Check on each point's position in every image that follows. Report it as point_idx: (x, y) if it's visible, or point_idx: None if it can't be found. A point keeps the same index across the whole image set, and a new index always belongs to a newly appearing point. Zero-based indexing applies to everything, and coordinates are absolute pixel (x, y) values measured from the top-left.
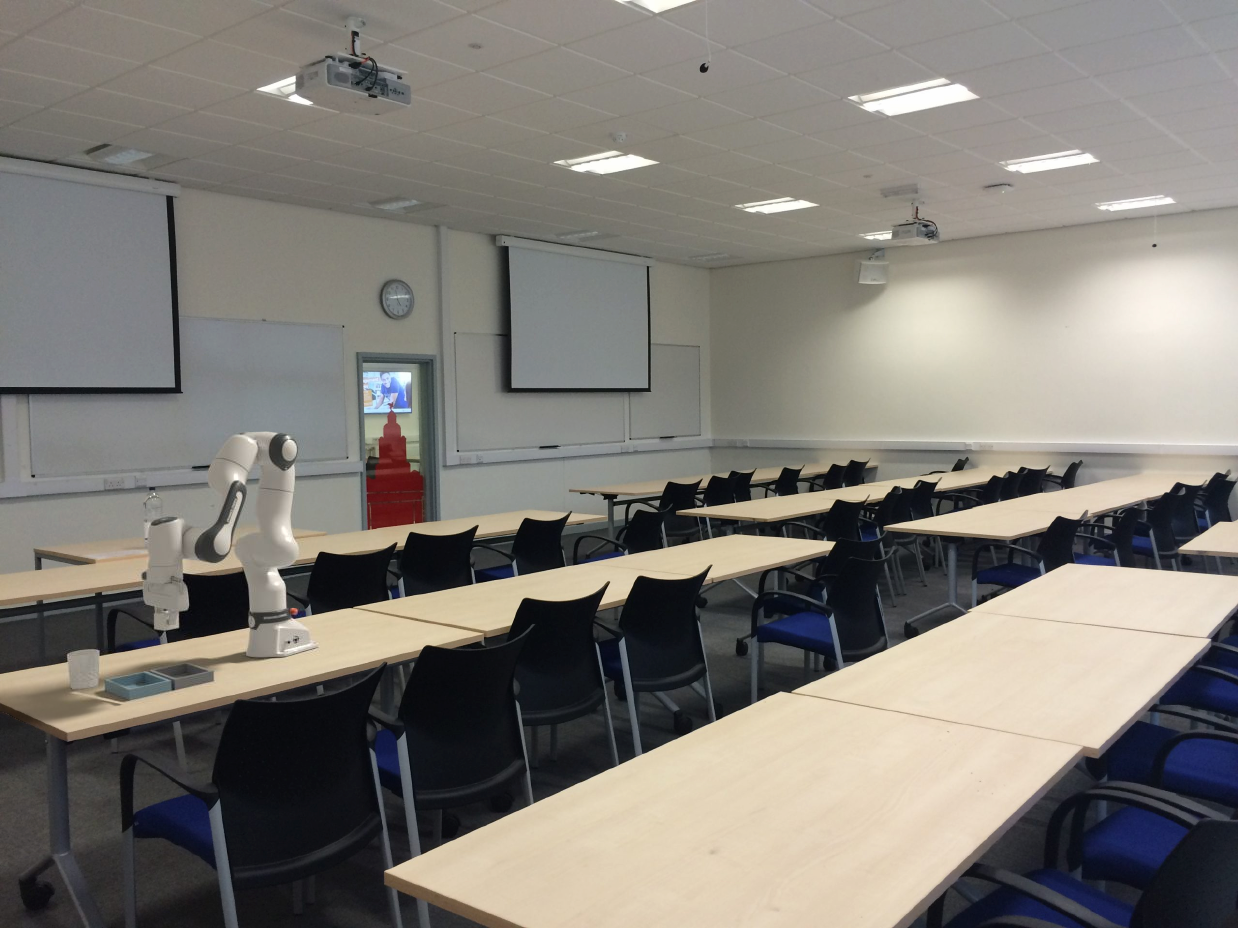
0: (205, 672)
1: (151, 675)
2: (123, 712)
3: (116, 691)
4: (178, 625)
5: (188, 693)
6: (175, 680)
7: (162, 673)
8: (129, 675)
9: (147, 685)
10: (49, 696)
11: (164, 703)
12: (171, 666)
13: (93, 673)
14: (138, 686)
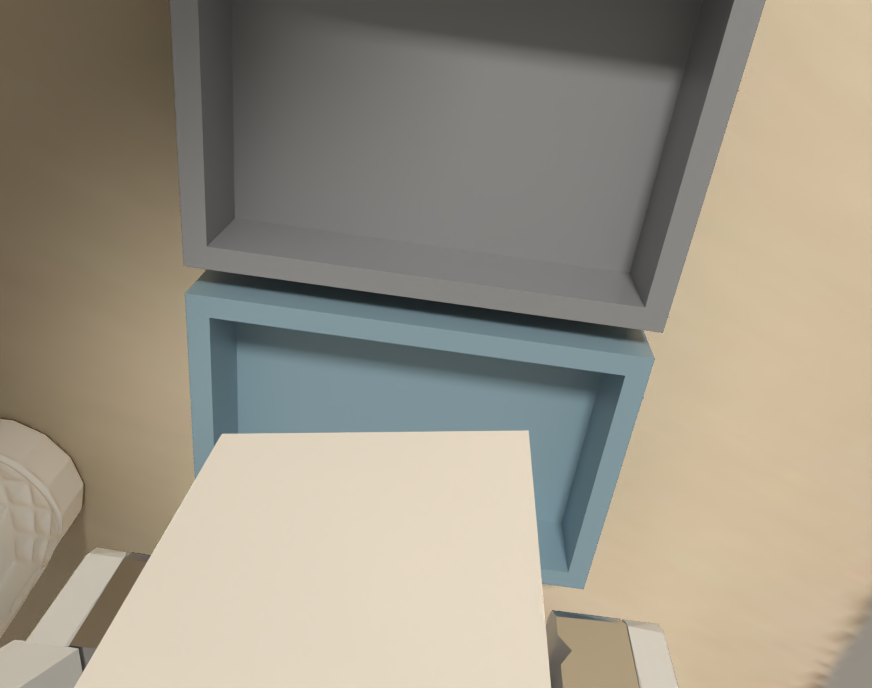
0: (738, 46)
1: (350, 334)
2: (707, 622)
3: None
4: (527, 460)
5: (771, 264)
6: (661, 323)
7: (221, 157)
8: (214, 411)
9: (604, 498)
10: None
11: (798, 460)
12: (201, 79)
13: (32, 533)
14: (314, 360)
